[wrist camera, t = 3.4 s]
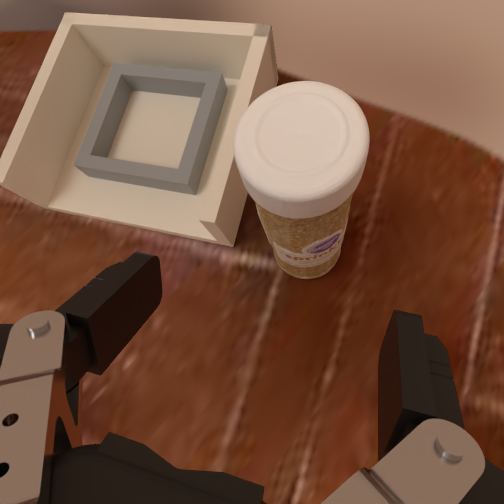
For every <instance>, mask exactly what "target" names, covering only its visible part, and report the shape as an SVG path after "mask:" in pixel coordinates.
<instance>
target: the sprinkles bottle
mask: <svg viewBox="0 0 504 504" xmlns="http://www.w3.org/2000/svg"><path fill="white" fill-rule="evenodd" d="M369 142H370V141H369V128H368V124H367V121H366V118H365V116H364V114H363V112H362V110H361V108H360V107H359V105H358V104H357V103H356V102H355V101H354V100H353V99H352V98H351V97H350V96H349V95H347V94H346V93H345V92H343V91H342V90H340V89H338V88H336V87H334V86H331V85H328V84H325V83H321V82H315V81H298V82H290V83H286V84H283V85H280V86H277V87H275V88H272V89H270V90H268V91H267V92H265V93H263V94H262V95H261V96H259V97H258V98H257V99H256V100H254V101H253V102H252V103H251V104H250V106H249V107H248V108H247V109H246V110H245V112H244V113H243V115H242V116H241V118H240V120H239V122H238V125H237V127H236V131H235V135H234V142H233V148H234V156H235V161H236V164H237V167H238V170H239V173H240V176H241V179H242V181H243V183H244V186H245V188H246V190H247V191H248V193H249V194H250V196H251V197H252V198H253V200H254V201H255V202H256V208H257V212H258V215H259V218H260V220H261V223H262V225H263V228H264V230H265V233H266V235H267V238H268V240H269V242H270V244H271V245H272V247H273V253H274V256H275V259H276V261H277V264H278V265H279V266H280V268H281V269H282V270H284V271H285V272H286V273H287V274H290V275H291V276H293V277H295V278H299V279H312V278H317V277H321V276H323V275H324V274H327V273H328V272H329V271H330V270H331V269H332V268H333V267H334V265H335V264H336V262H337V260H338V258H339V256H340V252H341V244H342V241H343V238H344V234H345V230H346V226H347V221H348V213H349V210H350V204H351V199H352V194H353V192H354V190H355V189H356V188H357V186H358V184H359V182H360V180H361V177H362V174H363V171H364V167H365V163H366V159H367V154H368V149H369Z"/></svg>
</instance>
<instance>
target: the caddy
mask: <svg viewBox="0 0 504 504" xmlns="http://www.w3.org/2000/svg"><path fill="white" fill-rule="evenodd" d="M277 83H278V72H277V64H276V57H275V49H274V42H273V34H272V26H271V25H268V24H267V25H266V24H252V23H251V24H250V23H235V22H233V23H232V22H218V21H201V20H185V19H167V18H151V17H133V16H117V15H100V14H84V13H66V12H65V14H64V16H63V19H62V21H61V23H60V25H59V28H58V30H57V32H56V34H55V37H54V39H53V41H52V43H51V46H50V48H49V50H48V52H47V55H46V57H45V59H44V61H43V64H42V66H41V68H40V70H39V73H38V75H37V77H36V79H35V82H34V84H33V86H32V88H31V91H30V93H29V95H28V97H27V100H26V102H25V104H24V106H23V109H22V111H21V113H20V115H19V118H18V120H17V122H16V124H15V127H14V129H13V131H12V133H11V136H10V138H9V140H8V142H7V145H6V147H5V149H4V151H3V154H2V156H1V158H0V186H2V187H4V188H6V189H8V190H10V191H12V192H14V193H15V194H17V195H19V196H21V197H23V198H25V199H27V200H29V201H31V202H32V203H34V204H36V205H38V206H40V207H42V208H44V209H48V210H53V211H58V212H63V213H68V214H73V215H78V216H83V217H88V218H93V219H98V220H103V221H108V222H113V223H117V224H122V225H127V226H132V227H137V228H142V229H147V230H152V231H157V232H162V233H167V234H172V235H177V236H182V237H186V238H191V239H196V240H201V241H206V242H211V243H216V244H221V245H226V246H231V247H233V246H234V243H235V239H236V235H237V232H238V228H239V224H240V220H241V217H242V213H243V209H244V206H245V202H246V198H247V194H248V191H247V190H246V188H245V186H244V183H243V181H242V179H241V176H240V173H239V170H238V167H237V164H236V161H235V156H234V148H233V142H234V135H235V131H236V127H237V125H238V122H239V120H240V118H241V116H242V115H243V113H244V112H245V110H246V109H247V108H248V107H249V106H250V104H251V103H252V102H253V101H254V100H256V99H257V98H258V97H259V96H261V95H262V94H263V93H265V92H267V91H268V90H270V89H272V88H275V87H277Z"/></svg>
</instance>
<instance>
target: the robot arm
mask: <svg viewBox="0 0 504 504" xmlns="http://www.w3.org/2000/svg"><path fill="white" fill-rule="evenodd" d="M161 298H162V281H161V270H160V261H159V258H158V257H157V256H155V255H150V254H146V253H141V252H135V253H133V254H132V255H131V256H130V257H129V258H128V259H126V260H125V261H124V262H123V263H122V262H119V263H117V264H115V265H112V266H110V267H108V268H106V269H105V270H103V271H102V272H101V273H100V274H99V275H97V276H96V278H95V279H93V280H91V281H90V282H89V283H88V284H87V286H84V287H83V288H82V289H81V290H79V291H78V292H77V293H76V294H75V295H74V296H72V297H71V298H70V299H69V300H68V301H66V302H65V303H64V304H63V305H62V306H60V307H59V308H58V309H57V310H56V311H39V312H35V313H32V314H29V315H27V316H25V317H23V318H22V319H20V320H19V321H17V322H16V323H15V324H0V504H266V503H265V502H264V501H262V500H263V493H264V486H261V485H258V484H255V483H252V482H249V481H247V480H244V479H241V478H238V477H235V476H232V475H230V474H227V473H224V472H212V471H196V470H182V469H177V468H175V467H174V466H172V465H171V464H170V463H168V462H167V461H166V460H164V459H163V458H162V457H160V456H159V455H158V454H156V453H155V452H154V451H152V450H151V449H150V448H148V447H147V446H146V445H144V444H142V443H139V442H136V441H133V440H130V439H127V438H125V437H122V436H119V435H116V434H113V433H110V432H109V433H108V434H107V436H106V437H105V438H104V440H103V441H102V443H101V444H91V445H83V446H82V438H81V423H82V387H83V384H82V379H81V378H82V377H83V376H84V374H85V373H86V372H91V373H94V374H97V375H100V376H101V375H102V374H103V372H104V371H105V370H106V369H107V368H108V366H109V365H110V364H111V363H112V362H113V360H114V359H115V358H116V357H117V356H118V354H119V353H120V352H121V351H122V350H123V348H124V347H125V346H126V345H127V344H128V342H129V341H130V340H131V339H132V337H133V336H134V335H135V334H136V333H137V331H138V330H139V329H140V328H141V327H142V325H143V324H144V323H145V322H146V321H147V319H148V318H149V317H150V316H151V315H152V313H153V312H154V311H155V310H156V309H157V307H158V306H159V304H160V301H161ZM321 504H504V471H503V470H501V469H500V468H498V467H496V466H495V465H493V464H492V463H491V462H489V461H488V460H487V459H486V458H485V457H484V455H483V453H482V450H481V449H480V447H479V445H478V444H477V442H476V441H475V440H474V439H473V438H472V436H471V435H470V434H468V433H467V432H466V431H465V428H464V424H463V420H462V415H461V411H460V406H459V402H458V397H457V393H456V388H455V384H454V381H453V375H452V370H451V368H450V361H449V357H448V352H447V350H446V349H445V347H444V346H443V344H442V343H441V342H440V340H439V339H438V337H437V336H432V335H428V334H424V329H423V323H422V317H421V316H420V315H416V314H411V313H407V312H403V311H398V310H394V312H393V314H392V317H391V320H390V322H389V325H388V328H387V331H386V334H385V337H384V340H383V343H382V346H381V350H380V355H379V363H378V463H377V464H376V465H375V466H374V467H372V468H371V469H369V470H368V469H367V468H362V469H360V470H359V471H357V472H356V473H355V474H354V475H352V476H351V477H350V478H349V479H348V480H347V481H346V482H345V483H343V484H342V485H341V486H340V487H339V488H338V489H337V490H336V491H334V492H333V493H332V494H331V495H330V496H329V497H328V498H327V499H325V500H324V501H323V502H322V503H321Z"/></svg>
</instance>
